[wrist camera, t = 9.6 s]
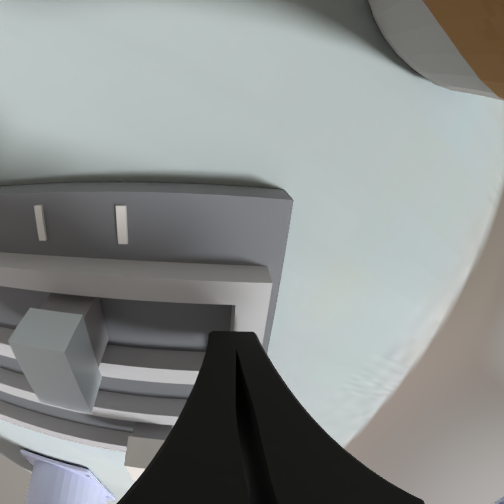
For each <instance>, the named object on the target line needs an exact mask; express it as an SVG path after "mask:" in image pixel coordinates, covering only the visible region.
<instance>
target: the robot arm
mask: <svg viewBox="0 0 504 504" xmlns="http://www.w3.org/2000/svg"><path fill="white" fill-rule="evenodd" d="M20 453H21V454H22V455H23V456H24V457H25V458H26V459H27V460H28V461H29V462H30V463H31V464H32V465H33V466H34V467H33V470H32V474H31V479H30V482H29V487H28V491H27V495H26V500H25V504H106V500H112V501H114V500H115V498H114V496H113V495H112V494H111V493H110V492H109V491H108V490H107V489H106V488H105V487H104V486H103V485H102V484H101V483H100V482H99V480H98V479H97V478H96V477H95V476H94V475H93V474H92V472H91V471H90V470H88V469H85V468H81V467H77V466H73V465H69V464H66V463H62V462H59V461H55V460H52V459H49V458H46V457H43V456H39V455H37V454H34V453H31V452H28V451H25V450H22V449H21V450H20ZM117 504H425V503H424V501H423V500H421V499H419V498H417V497H415V496H413V495H411V494H409V493H407V492H405V491H404V490H402V489H400V488H398V487H397V486H395V485H393V484H391V483H390V482H388V481H387V480H385V479H383V478H382V477H380V476H379V475H377V474H376V473H374V472H373V471H371V470H370V469H369V468H367V467H366V466H365V465H363V464H362V463H361V462H360V461H358V460H357V459H356V458H354V457H353V456H352V455H351V454H350V453H348V452H347V451H346V450H345V449H343V448H342V447H341V446H340V445H339V444H338V443H337V442H336V441H335V440H334V439H333V438H331V437H330V436H329V435H328V434H327V433H326V432H325V431H324V430H323V429H322V428H321V427H320V425H319V424H318V423H317V422H316V421H315V420H314V419H313V418H312V417H311V416H310V414H309V413H308V412H307V411H306V410H305V409H304V407H303V406H302V405H301V404H300V402H299V401H298V400H297V399H296V397H295V396H294V395H293V393H292V392H291V391H290V389H289V388H288V387H287V385H286V384H285V382H284V381H283V379H282V378H281V376H280V375H279V373H278V372H277V370H276V369H275V367H274V366H273V364H272V362H271V361H270V359H269V357H268V356H267V354H266V352H265V350H264V348H263V347H262V345H261V343H260V341H259V339H258V337H257V334H255V333H254V332H245V331H212V332H210V333H209V338H208V344H207V349H206V353H205V356H204V359H203V363H202V366H201V368H200V371H199V373H198V376H197V379H196V381H195V384H194V386H193V389H192V391H191V393H190V395H189V397H188V399H187V401H186V403H185V405H184V408H183V410H182V412H181V413H180V415H179V417H178V419H177V421H176V423H175V425H174V426H173V428H172V430H171V431H170V433H169V435H168V436H167V438H166V440H165V441H164V443H163V444H162V446H161V447H160V449H159V450H158V452H157V453H156V455H155V456H154V458H153V459H152V461H151V462H150V464H149V465H148V466H147V468H146V469H145V470H144V472H143V473H142V474H141V475H140V477H139V478H138V479H137V480H136V482H135V483H134V484H133V485H132V486H131V488H130V489H129V490H128V491H127V493H126V494H125V495H124V496H123V497H122V498H121V499H120V501H119V502H118V503H117ZM493 504H504V497H502V498H500V499H499V500H497V501H496V502H494V503H493Z"/></svg>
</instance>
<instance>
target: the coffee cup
mask: <svg viewBox="0 0 504 504" xmlns="http://www.w3.org/2000/svg"><path fill="white" fill-rule="evenodd" d="M368 1H369V4H370V7H371V11H372V14H373V17H374V20H375V22H376V23H377V25H378V27H379V29H380V31H381V33H382V35H383V37H384V38H385V39H386V41H387V42H388V43H389V45H390V46H391V47H392V49H393V50H394V51H395V53H396V54H397V55H398V56H399V57H400V58H401V59H402V60H404V61H405V62H406V63H407V64H408V65H409V66H410V67H411V68H412V69H414V70H415V71H417V72H418V73H419V74H421V75H422V76H424V77H425V78H427V79H428V80H430V81H431V82H432V83H434V84H435V85H438V86H441V87H444V88H447V89H449V90H453V91H459V92H465V93H471V94H476V95H481V96H486V97H491V98H495V99H500V100H504V0H368Z"/></svg>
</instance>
